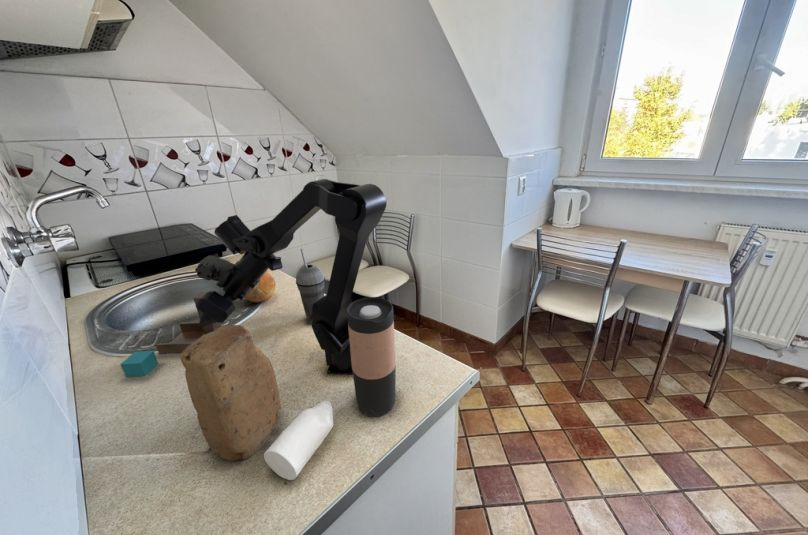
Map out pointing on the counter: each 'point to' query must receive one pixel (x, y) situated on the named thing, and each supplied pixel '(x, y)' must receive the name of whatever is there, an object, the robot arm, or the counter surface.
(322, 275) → the beverage cup
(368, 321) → the travel mug
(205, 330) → the brown angle bracket
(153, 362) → the cube
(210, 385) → the porous brown stone
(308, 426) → the white bottle
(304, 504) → the counter surface
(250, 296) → the onion
